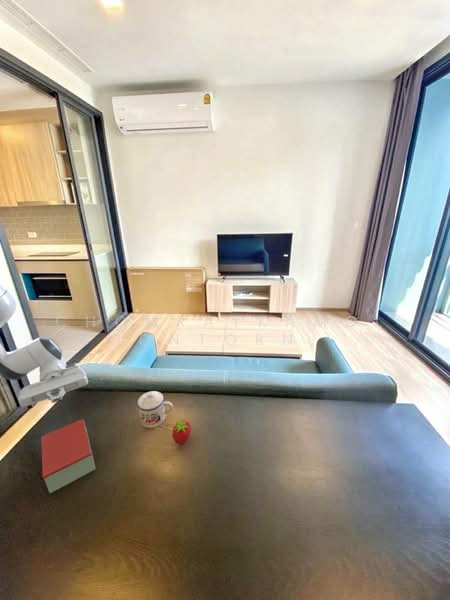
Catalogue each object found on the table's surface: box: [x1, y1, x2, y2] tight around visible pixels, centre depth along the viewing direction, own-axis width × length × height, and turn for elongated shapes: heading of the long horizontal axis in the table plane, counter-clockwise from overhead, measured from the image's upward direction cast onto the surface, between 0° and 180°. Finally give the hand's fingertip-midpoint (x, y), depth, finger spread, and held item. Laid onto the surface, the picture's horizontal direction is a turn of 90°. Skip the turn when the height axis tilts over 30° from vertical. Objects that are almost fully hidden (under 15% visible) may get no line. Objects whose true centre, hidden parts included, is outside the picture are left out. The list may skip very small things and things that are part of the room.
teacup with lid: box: [137, 390, 173, 429], centre depth 90 cm, size 12×9×12 cm
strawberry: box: [172, 419, 192, 446], centre depth 81 cm, size 6×8×10 cm
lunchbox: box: [43, 422, 96, 494], centre depth 76 cm, size 15×12×7 cm
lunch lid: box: [40, 418, 93, 480], centre depth 74 cm, size 15×12×1 cm
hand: (56, 399), depth 83 cm, fingers closed
